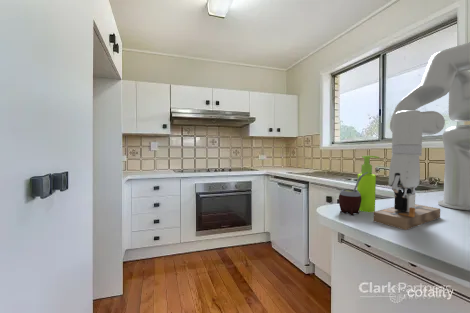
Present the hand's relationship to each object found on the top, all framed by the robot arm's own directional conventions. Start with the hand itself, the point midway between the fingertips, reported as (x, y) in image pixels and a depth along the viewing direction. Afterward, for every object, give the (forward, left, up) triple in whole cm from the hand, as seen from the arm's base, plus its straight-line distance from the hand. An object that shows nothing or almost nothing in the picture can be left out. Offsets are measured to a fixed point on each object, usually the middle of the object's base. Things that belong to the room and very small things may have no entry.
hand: (404, 208), depth 74 cm
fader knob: (0, 0, 0) cm, 0 cm away
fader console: (-2, 0, -4) cm, 4 cm away
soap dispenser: (-2, -13, -4) cm, 14 cm away
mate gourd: (+7, -14, -4) cm, 16 cm away
